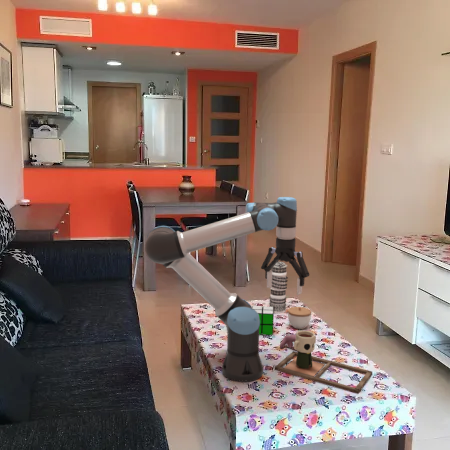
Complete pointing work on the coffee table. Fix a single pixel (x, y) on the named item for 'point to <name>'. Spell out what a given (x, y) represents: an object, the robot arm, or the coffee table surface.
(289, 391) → the coffee table surface
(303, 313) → the lidded jar
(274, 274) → the decorative candle
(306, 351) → the character mug
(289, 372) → the rail frame
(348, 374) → the coffee table surface
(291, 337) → the video game controller
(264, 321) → the puzzle cube
